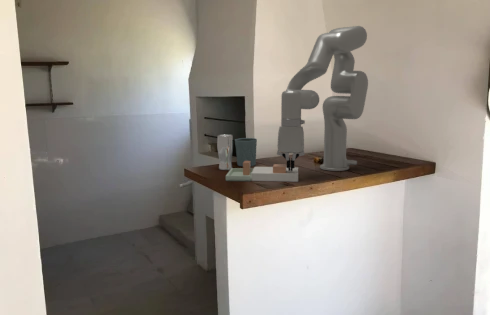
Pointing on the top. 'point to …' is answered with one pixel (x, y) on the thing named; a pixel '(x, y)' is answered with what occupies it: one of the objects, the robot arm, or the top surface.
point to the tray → (237, 175)
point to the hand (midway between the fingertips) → (290, 170)
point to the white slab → (274, 174)
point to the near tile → (279, 168)
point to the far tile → (246, 167)
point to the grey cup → (246, 150)
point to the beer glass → (225, 151)
